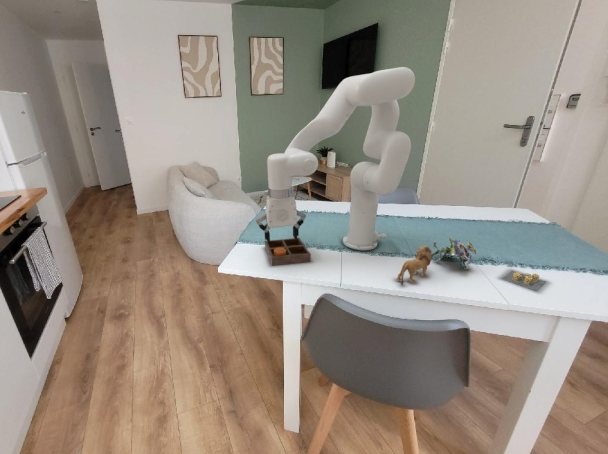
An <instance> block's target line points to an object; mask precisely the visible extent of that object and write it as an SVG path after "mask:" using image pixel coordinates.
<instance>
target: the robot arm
mask: <svg viewBox="0 0 608 454" xmlns="http://www.w3.org/2000/svg"><path fill="white" fill-rule="evenodd" d="M415 84H416V76H415V73H414V71H413V70H412V69H410V68H409V67H406V66H399V67H393V68H387V69H381V70H380V69H379V70H377V71H376V70H375V71H373V72H371V73H365V74H358V75H352V76H349V77H345V78H344V79H342V81H340V82H339V84H338V85H337V86H336V88H335V90H334V91H333V92H332V94H331V95H330V97H329V98H328V100H327V101H326V103H325V104H324V105H323V107H322V108H321V110H320V111H319V112H318V114H317V115H316V117H315V118H314V119H312V120H311V121H310V122H309V123H308V124H306V126H304V127H303V128H302V129H301V130H300V131H299V132H297V134H296V135H295V136H294V138H293V139H292V140H291V142H290V143H289V145H288V146H287V147H286V149H285V151H284V152H282V153H281V152H279V153H272V154H270V155H268V157H267V159H266V163H267V165H266V167H267V184H268V185H267V189H266V190H263V191H264V195H266V201H265V213H264V214H262V215H261V216H259V217H258V218H256V219H255V223H256V224H257V226H258V227H259V229H261V230H262V231H263V232H264V240H265V241H267V242H268V243H270V240H271V234H270V233H271V232H270V230H271V229H276V228H286V227H292V237H293V238H295V239H297V238H298V236H299V229H300V228H301V226H302V225H303V224H304V222H305V220H306V218H307V214H305V213H304V212H301V211H298V210H297V203H296V197H295V195H294V194H293V185H292V184H293V183H292V182H293V181H292V179H293V177H308V176H311V175H312V174H314V173H315V172H316V171H317V169H318V167H319V160H318V158H317V156H316V155H315V154H314V153H312V152H310V151H311V150H312V148H314V146H316V145H318V143H320V142H321V141H323V140H326V139H328V138H331V137H333V136H334V135H336V134H338V133H339V132H340V131H341V130H342V128H343V127H344V126H345V124H346V122H347V121H348V119H350V117H351V116H352V114H353V112H354V111H356V109H357V108H358V107H371V117H370V122H369V124H368V129H367V131H366V135H365V138H364V141H363V146H362V151H363V154H364V155H365V156H366V157H369V158H372V159H375V160H380V162H379V163H377V162H373V161H367V160H366V161H365V160H364V161H360V162H358V163H357V164H355V165H354V166H353V167H352V169H351V171H350V176H349V177H350V179H349V180H350V181H349V182H350V192H351V193H350V206H349V214H348V226H347V235H345V236H343V238H342V243H343V245H344V246H346V247H347V248H349V249H352V250H356V251H370V250H371V251H372V250H375V249H376V248H377V247H378V240H380V239H381V240H382V239H386V238H387V234H386V233H380V232H379V231H375V230H376V223H377V215H378V209H379V201H380V200H379V196H389V195H391V194H392V193H394V192H395V190H397V188H398V187H399V186H400V183H401V180H402V177H403V175H404V172H405V169H406V166H407V163H408V160H409V158H410V155H411V151H412V150H411V149H412V142H411V139H410V137H409V135H408V134H407V133H405V132H403V131H400V130H397V126H398V122H399V119H400V115H401V113H400V112H401V111H400V106H399V105H400V104H399V103H398V100H402V99H404V98H405V97H407V96H408V95H410V93H411V92H412V90H413V89H414V87H415ZM298 217H300V218H299V219H298ZM263 221H265V222H266V223H265V224H263V223H262V222H263Z"/></svg>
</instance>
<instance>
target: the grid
mask: <svg viewBox="0 0 608 454" xmlns="http://www.w3.org/2000/svg"><path fill="white" fill-rule="evenodd" d="M275 248H285V249H286V255H285V256H275V257H274V249H275ZM264 249H265V253H266V254H267V256H268V260H269V263H270V264H271V267H273V266H282V265H291V264H301V263H310V262H311V252H310V251H309V249H308V248H307V247H306V245H305V244H304V242H303V241H302V239H301V237H297V239H295V238H294V237H293V238H282V239H281V238H280V239H270V243H268V242H267V240H265V241H264Z"/></svg>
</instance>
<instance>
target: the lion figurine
mask: <svg viewBox="0 0 608 454" xmlns="http://www.w3.org/2000/svg"><path fill="white" fill-rule="evenodd" d="M432 252H433V251H432V249H431V248H430V247H429V246H428V245H421V246H420V247H419V248H416V249H415V253H416V258H415V259H408V260H406V261H404V263H403V264H402V267H401V270H400V272H399V274H398V275H397V279H396V281H398V282H400V285H401V286H403V285H404V276H405V273H406V271H408V272H407V273H408V274H409V277H408V279H409V281H410V283H412V284H416V280H415V279H414V276H415V275H416V274H417V273H418V271H421V270H422V271H421V273H420V275H421V276H422V277H427V275H426V272H427V270H428V266H430V265H431V262H432V257H433V256H432V254H433V253H432Z"/></svg>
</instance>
